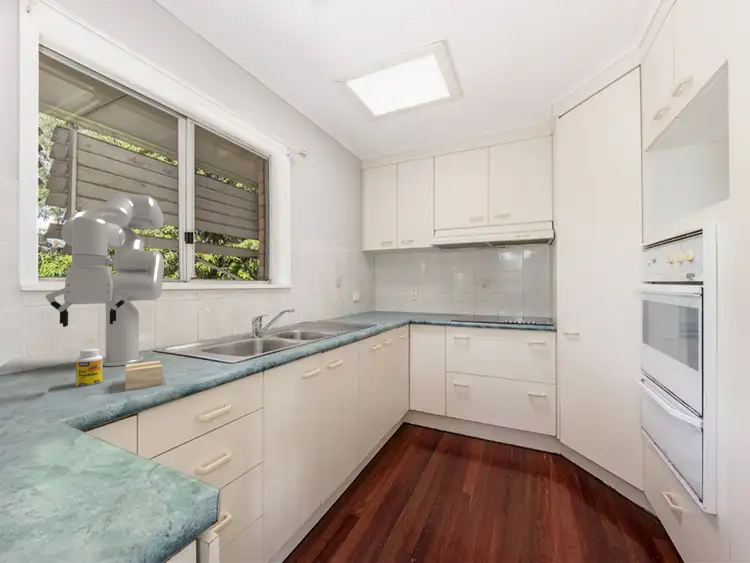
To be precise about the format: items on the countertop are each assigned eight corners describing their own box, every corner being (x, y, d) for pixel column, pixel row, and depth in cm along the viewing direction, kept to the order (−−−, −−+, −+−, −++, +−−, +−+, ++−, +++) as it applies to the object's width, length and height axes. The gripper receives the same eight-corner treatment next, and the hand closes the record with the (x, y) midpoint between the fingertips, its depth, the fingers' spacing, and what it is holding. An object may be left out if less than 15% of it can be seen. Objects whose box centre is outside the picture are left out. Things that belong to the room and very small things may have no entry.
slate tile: (112, 385, 94) (112, 381, 94) (162, 378, 101) (162, 374, 101) (110, 397, 84) (110, 393, 84) (166, 388, 91) (166, 384, 91)
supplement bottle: (73, 391, 89) (74, 352, 89) (77, 386, 93) (78, 349, 93) (101, 387, 92) (101, 350, 92) (103, 382, 96) (103, 347, 96)
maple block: (125, 382, 93) (125, 364, 93) (159, 377, 98) (159, 360, 98) (125, 390, 87) (125, 370, 87) (162, 384, 92) (162, 366, 92)
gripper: (128, 264, 101) (128, 322, 100) (49, 262, 90) (48, 326, 90) (129, 263, 95) (128, 324, 94) (43, 260, 84) (42, 328, 84)
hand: (89, 325), depth 92 cm, fingers open, 9 cm apart
